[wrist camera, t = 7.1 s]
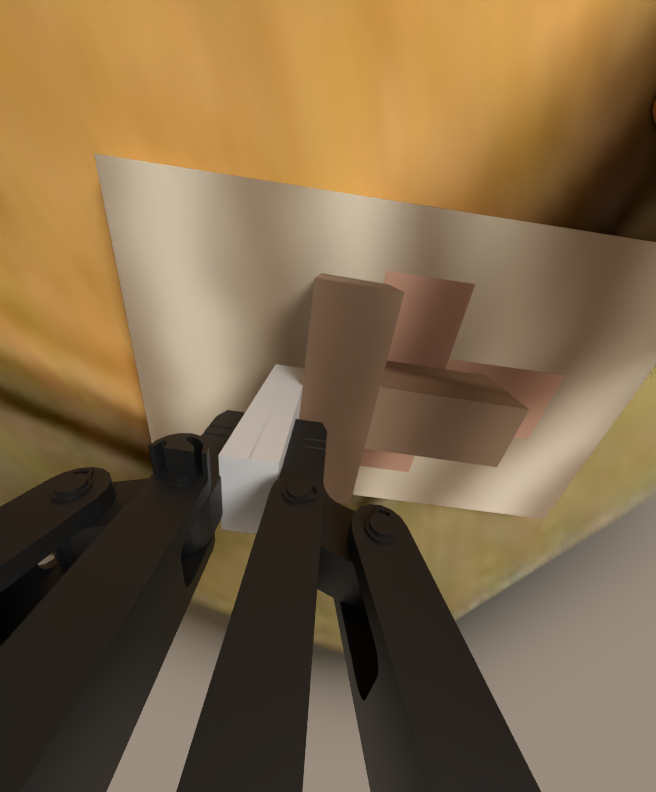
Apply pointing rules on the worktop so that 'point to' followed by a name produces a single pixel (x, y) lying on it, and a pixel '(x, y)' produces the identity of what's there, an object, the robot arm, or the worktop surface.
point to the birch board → (416, 325)
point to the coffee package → (654, 111)
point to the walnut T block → (391, 390)
